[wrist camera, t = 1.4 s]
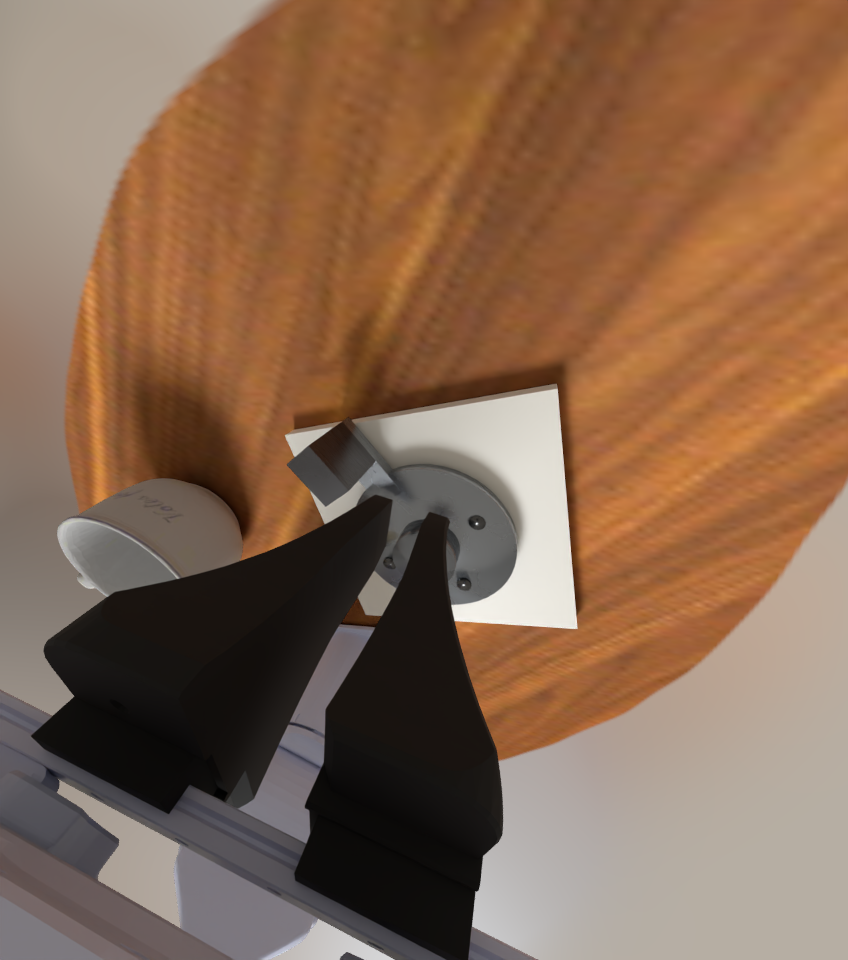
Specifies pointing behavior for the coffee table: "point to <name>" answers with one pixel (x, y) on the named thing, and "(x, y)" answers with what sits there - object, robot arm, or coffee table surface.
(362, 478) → the flange plate
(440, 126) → the coffee table surface
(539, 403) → the base plate
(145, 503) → the teacup
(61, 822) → the robot arm
